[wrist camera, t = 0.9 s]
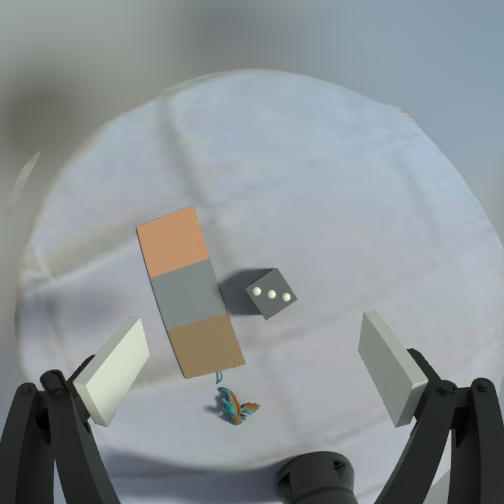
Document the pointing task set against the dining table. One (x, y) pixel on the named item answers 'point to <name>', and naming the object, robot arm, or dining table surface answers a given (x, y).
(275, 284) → the die
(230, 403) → the dragon figurine
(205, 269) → the game board
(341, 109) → the dining table surface
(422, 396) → the robot arm
